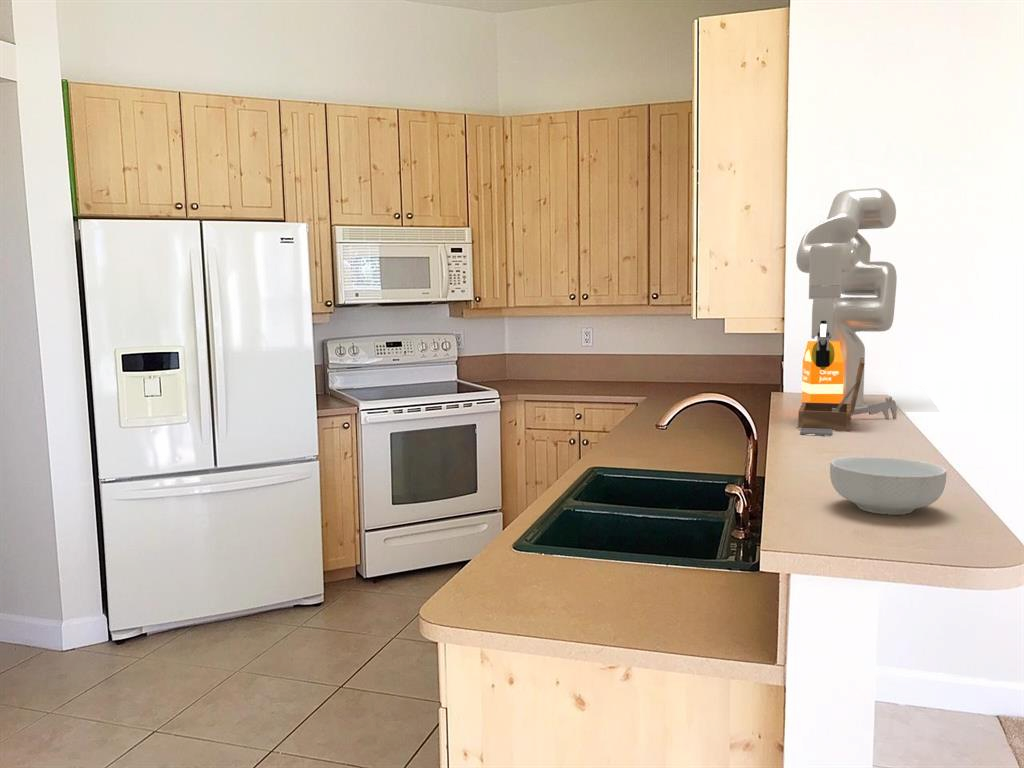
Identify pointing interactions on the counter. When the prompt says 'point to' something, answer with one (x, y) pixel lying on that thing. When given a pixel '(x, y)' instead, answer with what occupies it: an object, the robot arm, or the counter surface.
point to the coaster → (816, 431)
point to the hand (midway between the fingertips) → (822, 364)
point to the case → (831, 410)
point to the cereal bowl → (887, 483)
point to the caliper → (879, 408)
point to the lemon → (831, 349)
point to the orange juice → (822, 377)
